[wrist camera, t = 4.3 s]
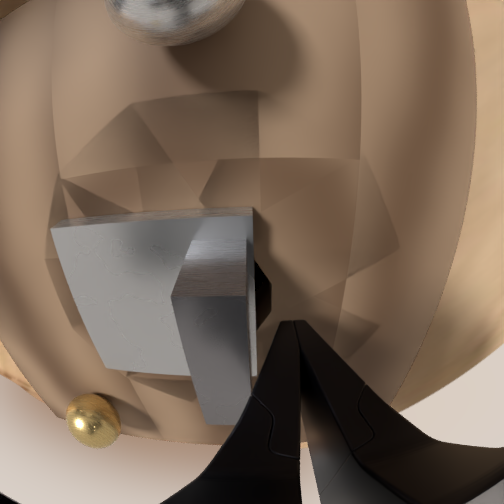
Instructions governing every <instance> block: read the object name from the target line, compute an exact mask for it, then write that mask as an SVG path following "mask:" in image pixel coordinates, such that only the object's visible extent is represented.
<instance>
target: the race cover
mask: <svg viewBox="0 0 504 504" xmlns="http://www.w3.org/2000/svg"><path fill="white" fill-rule="evenodd" d="M50 230H51V233H52V237H53V240H54V244H55V247H56V250H57V254H58V257H59V260H60V263H61V266H62V269H63V272H64V274H65V277H66V280H67V283H68V285H69V288H70V291H71V293H72V296H73V298H74V301H75V303H76V306H77V308H78V311H79V313H80V315H81V318H82V320H83V322H84V324H85V326H86V329H87V331H88V333H89V335H90V337H91V339H92V341H93V343H94V346H95V348H96V350H97V352H98V353H99V355H100V357H101V359H102V361H103V363H104V365H105V367H106V368H108V369H116V370H124V371H133V372H143V373H154V374H168V375H185V376H191V378H192V382H193V385H194V388H195V391H196V395H197V398H198V401H199V404H200V407H201V410H202V413H203V416H204V419H205V422H206V424H210V425H236V423H237V422H238V420H239V418H240V416H241V414H242V412H243V410H244V408H245V406H246V404H247V401H248V399H249V397H250V396H251V392H252V376H257V352H256V316H255V281H254V246H253V213H252V207H226V208H204V209H185V210H169V211H154V212H141V213H128V214H117V215H105V216H95V217H85V218H76V219H67V220H61V221H60V222H58V223H57V224H56V225H54V226H53V227H52V228H51V229H50Z"/></svg>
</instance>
